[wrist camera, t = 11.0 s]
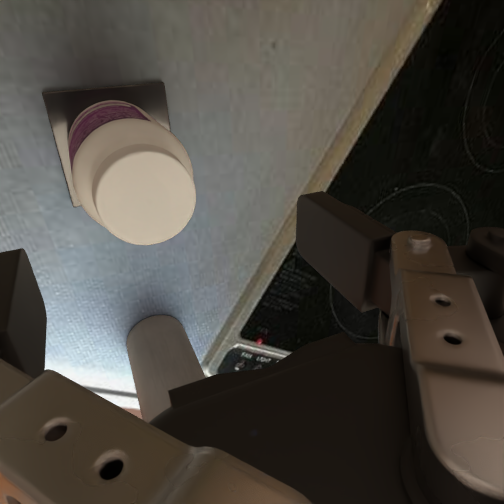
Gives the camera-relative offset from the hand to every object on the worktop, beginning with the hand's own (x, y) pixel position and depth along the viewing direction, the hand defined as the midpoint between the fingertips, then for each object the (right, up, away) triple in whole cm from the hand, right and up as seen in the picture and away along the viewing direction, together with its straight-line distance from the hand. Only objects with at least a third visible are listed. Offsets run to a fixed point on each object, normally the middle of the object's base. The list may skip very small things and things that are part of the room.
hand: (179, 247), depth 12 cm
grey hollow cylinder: (-5, -7, +19) cm, 21 cm away
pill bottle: (-6, +6, +12) cm, 15 cm away
